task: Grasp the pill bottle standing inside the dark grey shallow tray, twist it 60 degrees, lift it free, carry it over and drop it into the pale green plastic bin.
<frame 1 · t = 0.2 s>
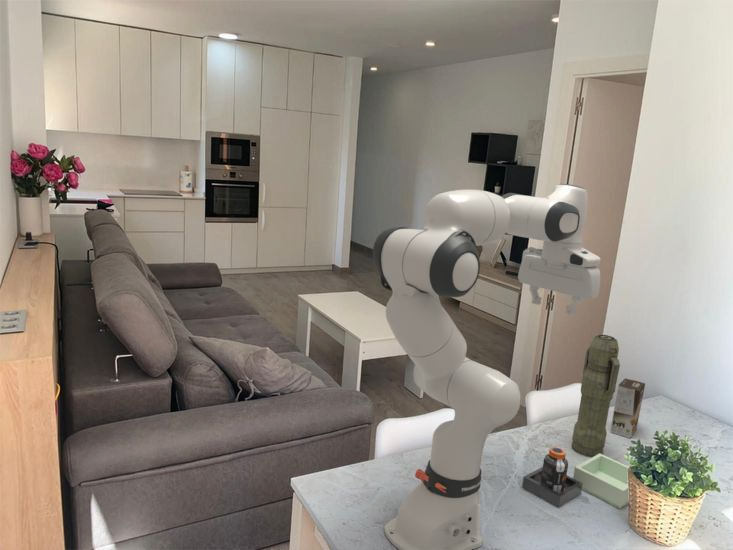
hand: (552, 308, 140), 47 cm above the table, fingers open, 8 cm apart
bin: (607, 488, 150), on the table
coffee box: (623, 431, 185), on the table
thermos: (587, 450, 170), on the table
pill bottle: (551, 491, 147), resting in dark grey shallow tray
dark grey shallow tray: (551, 490, 147), on the table
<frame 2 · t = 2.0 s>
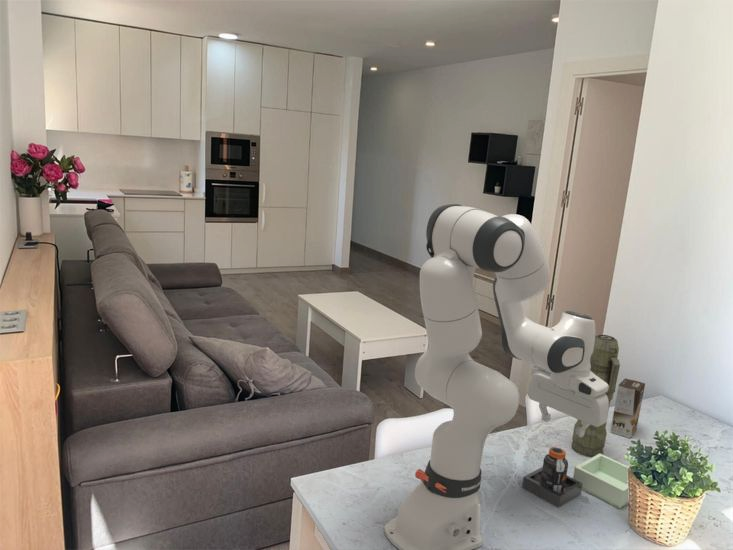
hand: (562, 428, 144), 17 cm above the table, fingers open, 8 cm apart
nothing on the table moved.
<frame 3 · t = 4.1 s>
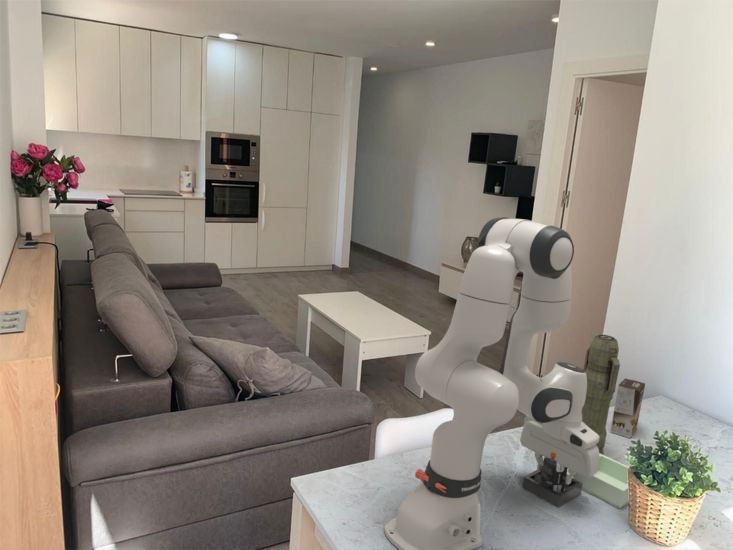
hand: (553, 476, 146), 4 cm above the table, fingers closed on pill bottle, 6 cm apart
pill bottle: (551, 491, 147), resting in dark grey shallow tray, touching gripper
everything else where it was.
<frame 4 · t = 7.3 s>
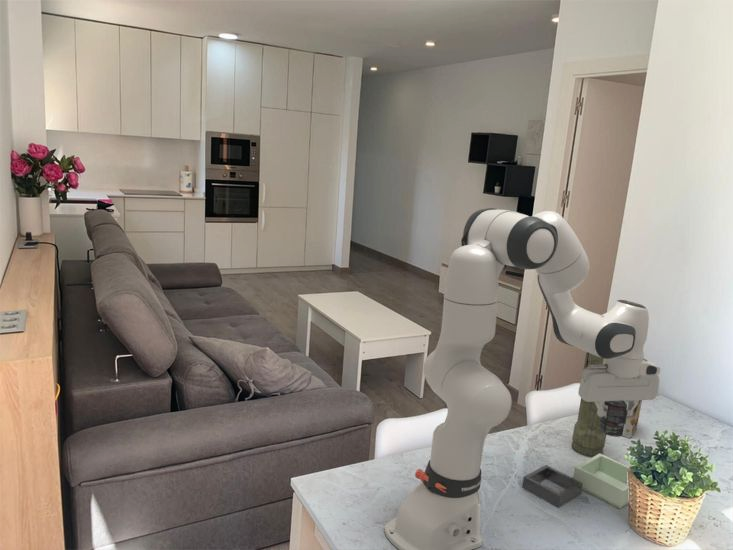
hand: (614, 415, 146), 20 cm above the table, fingers closed on pill bottle, 6 cm apart
pill bottle: (610, 432, 147), point 16 cm above the table, touching gripper
everything else where it was.
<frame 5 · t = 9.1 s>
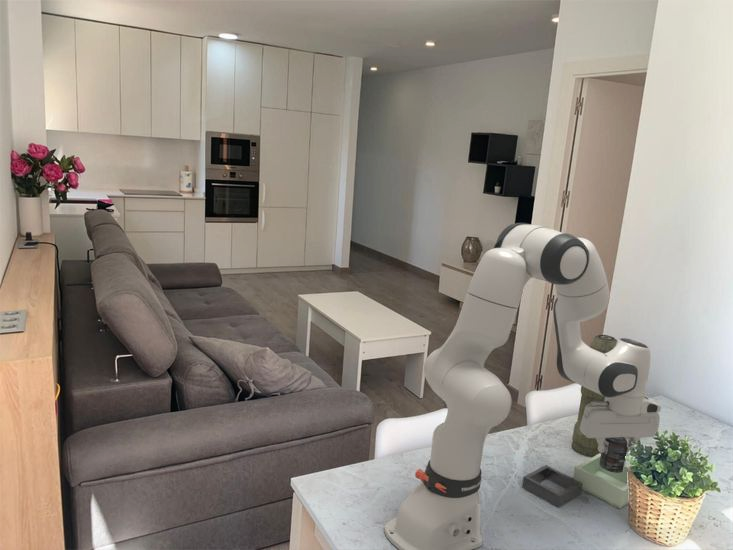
hand: (614, 451, 148), 11 cm above the table, fingers closed on pill bottle, 6 cm apart
pill bottle: (611, 468, 149), point 6 cm above the table, touching gripper
everything else where it was.
when the fingers open (6 cm above the table, at t = 10.8 s): pill bottle drops 1 cm, resting on bin.
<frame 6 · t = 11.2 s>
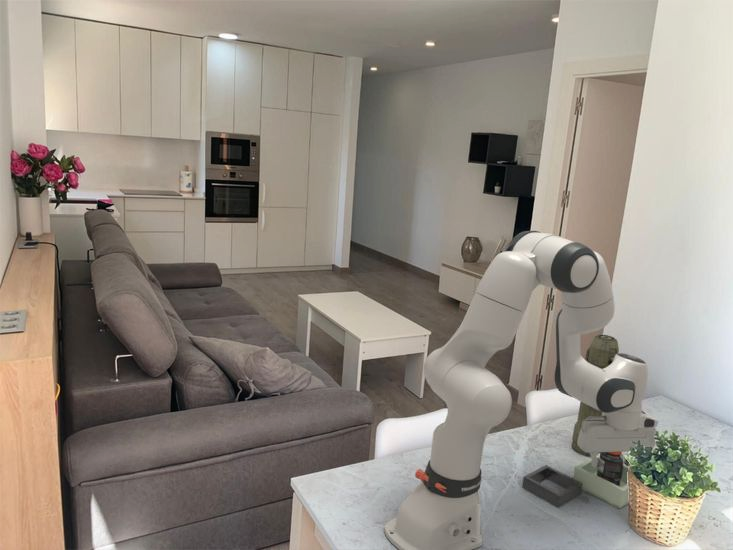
hand: (611, 465, 149), 7 cm above the table, fingers open, 8 cm apart
pill bottle: (607, 486, 150), resting on bin
everything else where it was.
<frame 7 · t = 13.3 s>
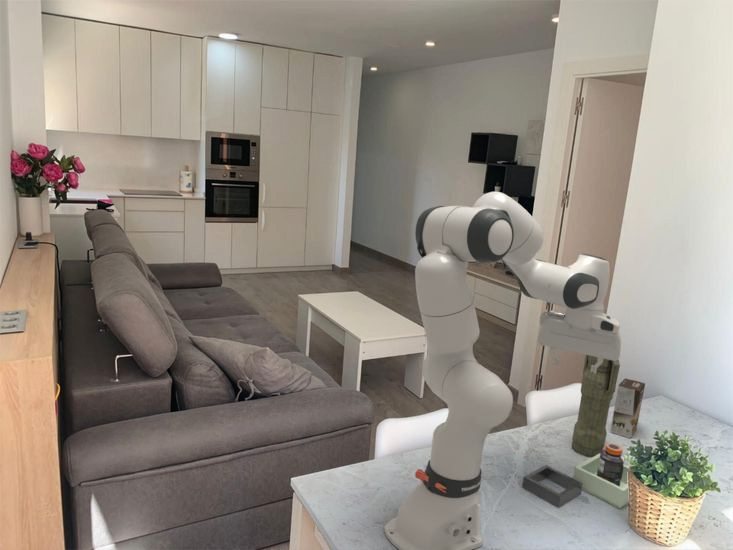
hand: (573, 368, 150), 30 cm above the table, fingers open, 8 cm apart
nothing on the table moved.
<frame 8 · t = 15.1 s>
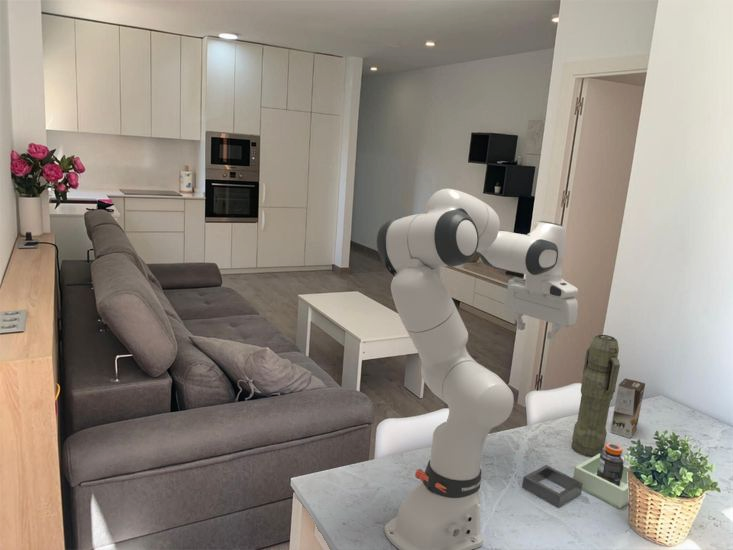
hand: (535, 334, 153), 37 cm above the table, fingers open, 8 cm apart
nothing on the table moved.
at the end: pill bottle inside the target area on the bin (0.2 cm from its centre), point 0.4 cm above the bin's base; the gripper is holding nothing; pill bottle touching bin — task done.
